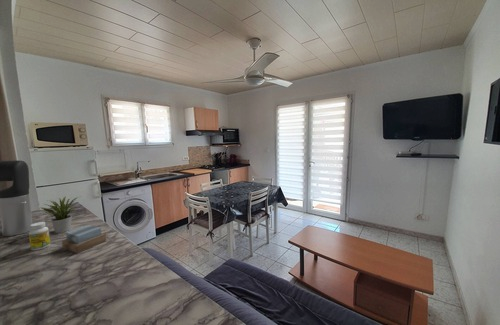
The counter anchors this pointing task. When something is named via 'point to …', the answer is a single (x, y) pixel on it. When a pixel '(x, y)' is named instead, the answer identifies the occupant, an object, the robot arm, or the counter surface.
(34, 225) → the supplement bottle
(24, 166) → the robot arm
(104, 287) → the counter surface
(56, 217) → the house plant
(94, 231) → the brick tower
